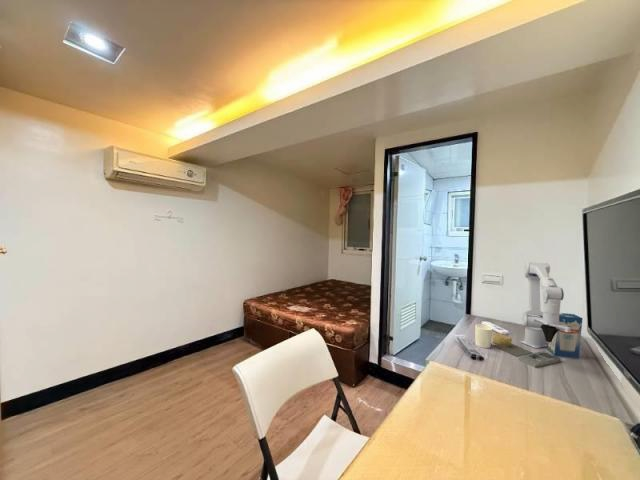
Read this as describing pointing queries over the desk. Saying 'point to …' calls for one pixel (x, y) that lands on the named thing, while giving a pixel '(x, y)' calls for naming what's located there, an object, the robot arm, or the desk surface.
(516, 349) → the mat
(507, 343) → the brass rectangular block
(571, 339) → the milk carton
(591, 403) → the desk surface
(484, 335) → the white cup
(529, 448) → the desk surface
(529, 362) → the grey plate with hole
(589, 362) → the desk surface
